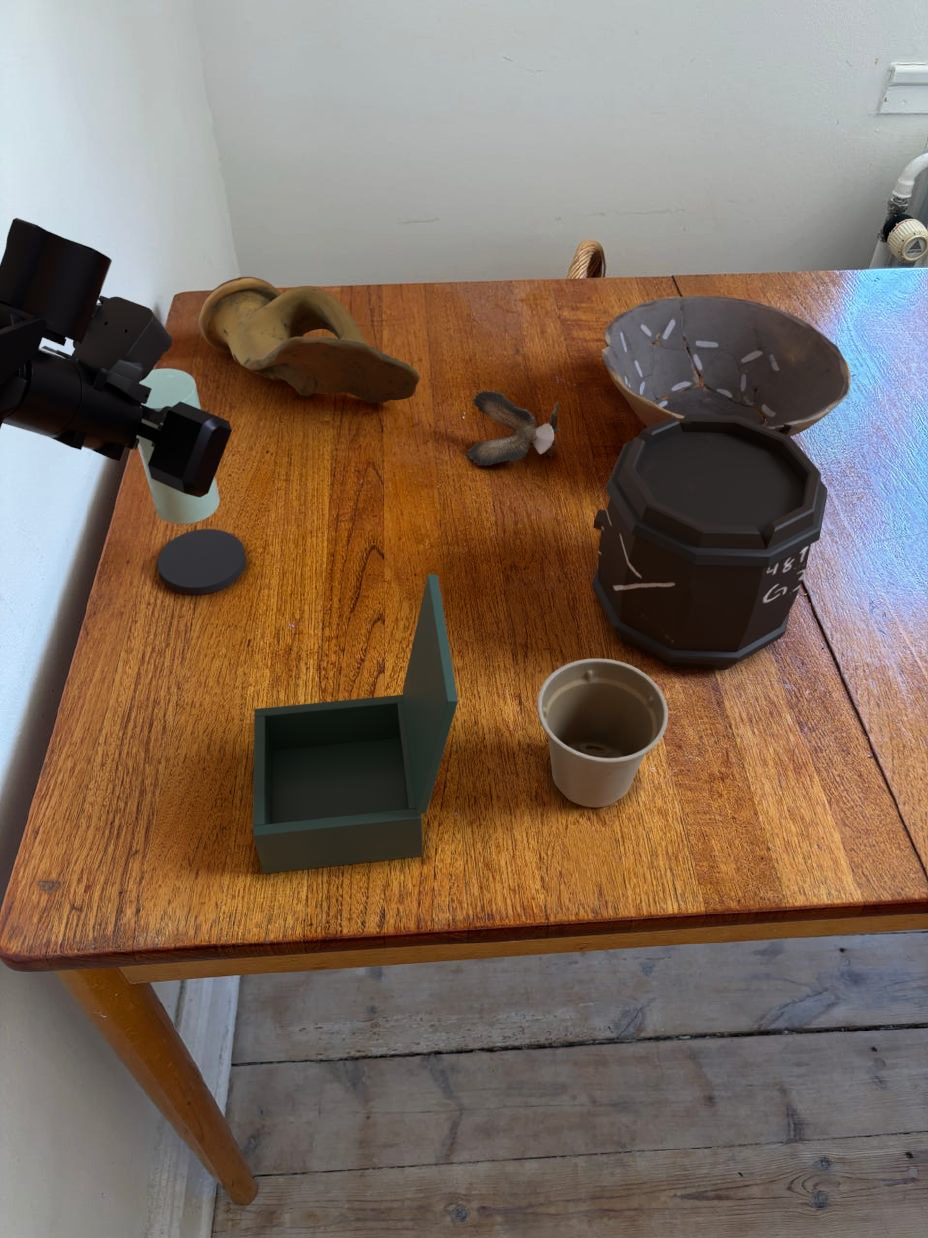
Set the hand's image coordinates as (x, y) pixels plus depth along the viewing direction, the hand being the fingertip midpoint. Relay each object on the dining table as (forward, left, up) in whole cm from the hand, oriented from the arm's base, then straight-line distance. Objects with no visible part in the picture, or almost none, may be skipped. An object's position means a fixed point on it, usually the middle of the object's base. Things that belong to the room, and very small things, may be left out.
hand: (186, 442), depth 86 cm
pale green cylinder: (-1, -1, -6) cm, 6 cm away
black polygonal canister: (+39, -21, -13) cm, 46 cm away
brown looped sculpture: (+16, +24, -14) cm, 32 cm away
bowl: (+54, +1, -14) cm, 56 cm away
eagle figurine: (+33, +5, -14) cm, 36 cm away
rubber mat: (-1, -1, -13) cm, 13 cm away
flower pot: (+23, -35, -14) cm, 44 cm away
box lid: (+10, -32, -2) cm, 33 cm away
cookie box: (+4, -30, -13) cm, 33 cm away
